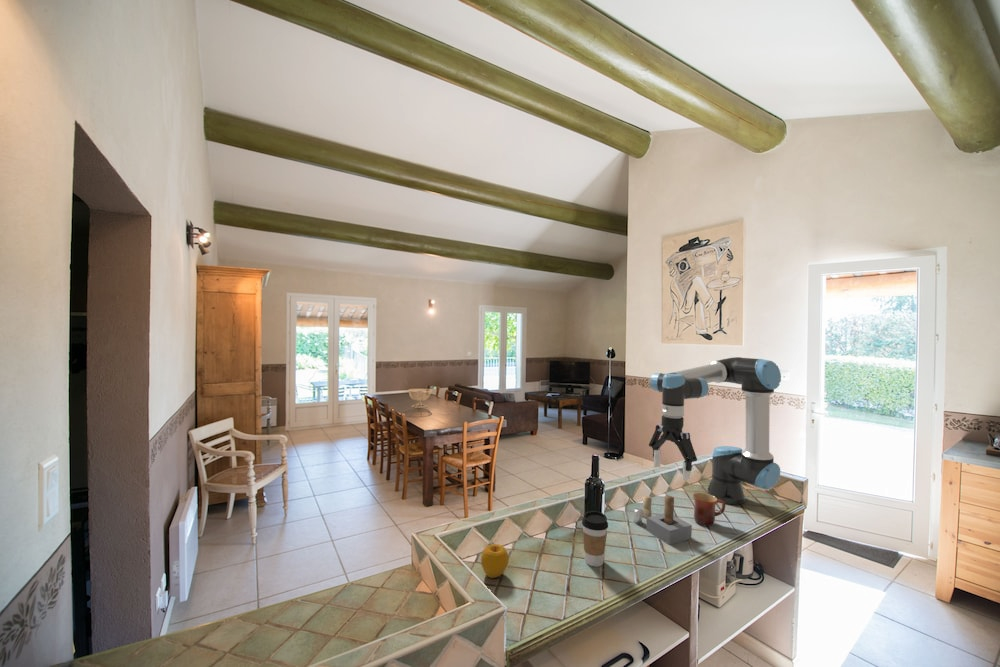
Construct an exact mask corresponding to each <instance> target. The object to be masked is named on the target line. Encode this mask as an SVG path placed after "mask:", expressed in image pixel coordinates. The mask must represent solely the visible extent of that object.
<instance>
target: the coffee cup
mask: <svg viewBox="0 0 1000 667" xmlns="http://www.w3.org/2000/svg"><path fill="white" fill-rule="evenodd" d="M581 524H582V537H583V538H582V539H583V540H582V541H583V550H584V551H583V552H584V554H583V555H584V556H583V557H584V562H585V564H587V565H588V566H591V567H601V566H603V564H604V558H605V550H606V542H607V534H608V531H607V529H608V528H609V523H608V519H607V516H606V514H604V513H603V512H601V511H597V510H589V511H586V512H585V513H584V514H583V518H582V520H581Z"/></svg>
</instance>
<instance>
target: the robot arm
mask: <svg viewBox="0 0 1000 667" xmlns="http://www.w3.org/2000/svg"><path fill="white" fill-rule="evenodd" d="M781 381H782V373H781V370H780V368H779V366H778V365H777V364H776V362H774V361H772V360H767V359H763V358H751V357H750V358H749V357H741V356H740V357H738V356H737V357H735V356H734V357H728V358H722V359H719V360H714V361H711V362H709V364H707V365H702V366H697V367H692V368H688V369H683V370H679V371H674V372H668V373H663V372H660V373H658V372H657V373H653V374H652V375H651V376H650V379H649V385H650V386H649V387H650V388H651V389H652V390H653V391H655V392H659V393H661V394H662V395H661V397H662V398H661V424H655V430H654V432H653V434H652V437H651V438H650V441H649V443H648V447H651V448H652V457H653V468H661V461H662V460H661V458H662V457H661V456H662V449H660V448H661V447H662V446H663V444H665V443H666V441H670V442H671V443H673V444H675V445H676V446H677V448H678V450H679V452H680V453H681V455H682V457H683V459H684V460H683V461H682V480H683V481H686V480H687V481H688V480H690V479H691V478H690V477H691V471H692V469H693V468H692V464H693V463H694V462H697V461H698V459H697V458H698V457H697V455H696V452H695V450H694V447H693V443H692V440H691V434H690V432H683V428H684V421H685V420H684V419H685V418H684V417H683V416H684V415H685V400H688V399H689V400H690V399H691V400H692V399H700V398H704V397H706V396H707V394H708V393H709V388H710V387H709V386H710V385H709V383H717V384H720V383H731V384H737V385H741V391H742V392H743V393H744V394H745V449H744V450H743V449H742V448H741V447H737V446H733V445H722V446H721V445H720V446H715V447H714V448H713V451H712V463H711V466H712V470H711V472H712V473H711V480H710V483H709V485H708V487H707V489H706V491H707V492H706V494H709V495H712V496H714V497H716V498H717V499H720V500H723V501H724V502H725V505H726V504H727V505H736V506H737V505H742V504H744V503H745V502H746V495H745V493H744V489H743V485H742V482H743V483H745V484H748V485H750V486H753V487H755V488H760V489H762V490H770V489H772V488H774V487H775V485H776V484H778V482H779V479H780V477H781V476H780V475H781V467H780V465H779V464H778V463H776V462H775V461H774V455H773V454H772V453H771V452H770V409H771V408H770V407H771V405H770V397H771V395H772V394H774V393H775V390H776V389H777V388H779V386H780V383H781Z"/></svg>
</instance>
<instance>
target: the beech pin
mask: <svg viewBox="0 0 1000 667" xmlns="http://www.w3.org/2000/svg"><path fill="white" fill-rule="evenodd" d="M652 499H653V498H652V497H651V496H650V495H643V496H642V510H643V516H642V518H645V519H647V517H651V516H652Z"/></svg>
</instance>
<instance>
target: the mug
mask: <svg viewBox="0 0 1000 667" xmlns="http://www.w3.org/2000/svg"><path fill="white" fill-rule="evenodd" d="M692 498H693V501H694V509H693V519H694V522H695V523H697V524H698V525H700V526H704V527H711V526H713V525H714V524H715V521H716V517H719V516H721V515H722V514H723V513H724V512H725V510H726V503H725V502H724V501H723V500H720V499H717V498H716V497H714V496H712V495H709V494H707V492H705V493H704V492H695V493H693V494H692ZM718 503H721V508H720V510H719V511H716V505H717V504H718Z"/></svg>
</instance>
